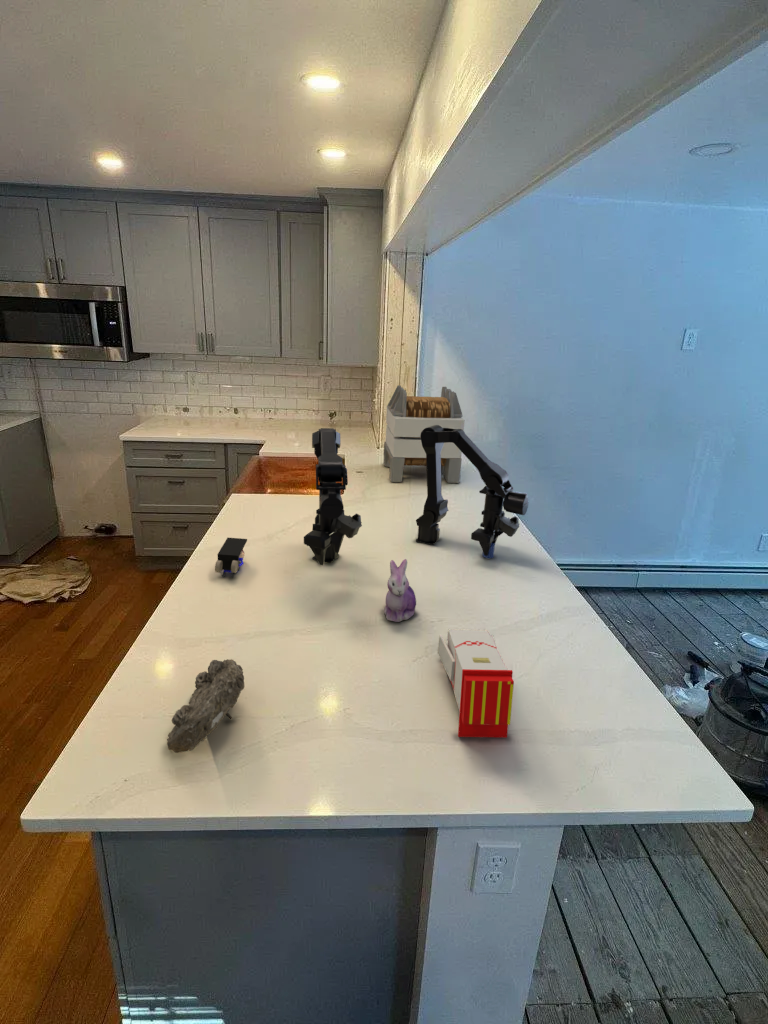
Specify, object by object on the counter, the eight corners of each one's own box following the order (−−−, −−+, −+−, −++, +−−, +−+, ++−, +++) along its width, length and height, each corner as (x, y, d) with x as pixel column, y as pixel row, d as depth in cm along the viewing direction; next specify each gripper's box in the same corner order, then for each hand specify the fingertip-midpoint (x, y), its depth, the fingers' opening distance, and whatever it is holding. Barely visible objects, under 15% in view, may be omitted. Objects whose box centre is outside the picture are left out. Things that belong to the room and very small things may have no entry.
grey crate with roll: (382, 463, 289) (386, 382, 275) (445, 464, 293) (451, 384, 279) (390, 482, 257) (394, 392, 243) (460, 483, 261) (468, 394, 247)
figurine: (392, 627, 141) (395, 572, 136) (374, 608, 149) (376, 556, 144) (425, 619, 145) (429, 566, 140) (405, 601, 154) (408, 550, 149)
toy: (488, 613, 130) (523, 677, 101) (484, 667, 133) (517, 744, 104) (435, 612, 130) (455, 676, 101) (432, 666, 133) (451, 743, 103)
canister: (490, 559, 183) (492, 546, 181) (480, 556, 184) (482, 543, 183) (495, 556, 185) (496, 543, 184) (485, 553, 187) (486, 540, 186)
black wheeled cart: (238, 584, 162) (249, 557, 175) (236, 562, 158) (247, 536, 172) (215, 584, 161) (227, 556, 175) (212, 561, 158) (225, 535, 171)
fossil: (192, 660, 117) (244, 628, 112) (224, 691, 120) (276, 661, 115) (142, 746, 98) (202, 712, 93) (182, 779, 101) (242, 748, 96)
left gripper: (341, 521, 141) (340, 578, 147) (371, 500, 158) (369, 552, 163) (302, 514, 145) (302, 569, 150) (335, 494, 161) (334, 544, 167)
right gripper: (507, 522, 168) (501, 569, 173) (527, 505, 183) (521, 550, 188) (472, 514, 173) (468, 560, 178) (494, 499, 188) (489, 542, 194)
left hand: (329, 558), depth 157 cm, fingers open, 9 cm apart
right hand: (488, 553), depth 185 cm, fingers closed on canister, 3 cm apart
